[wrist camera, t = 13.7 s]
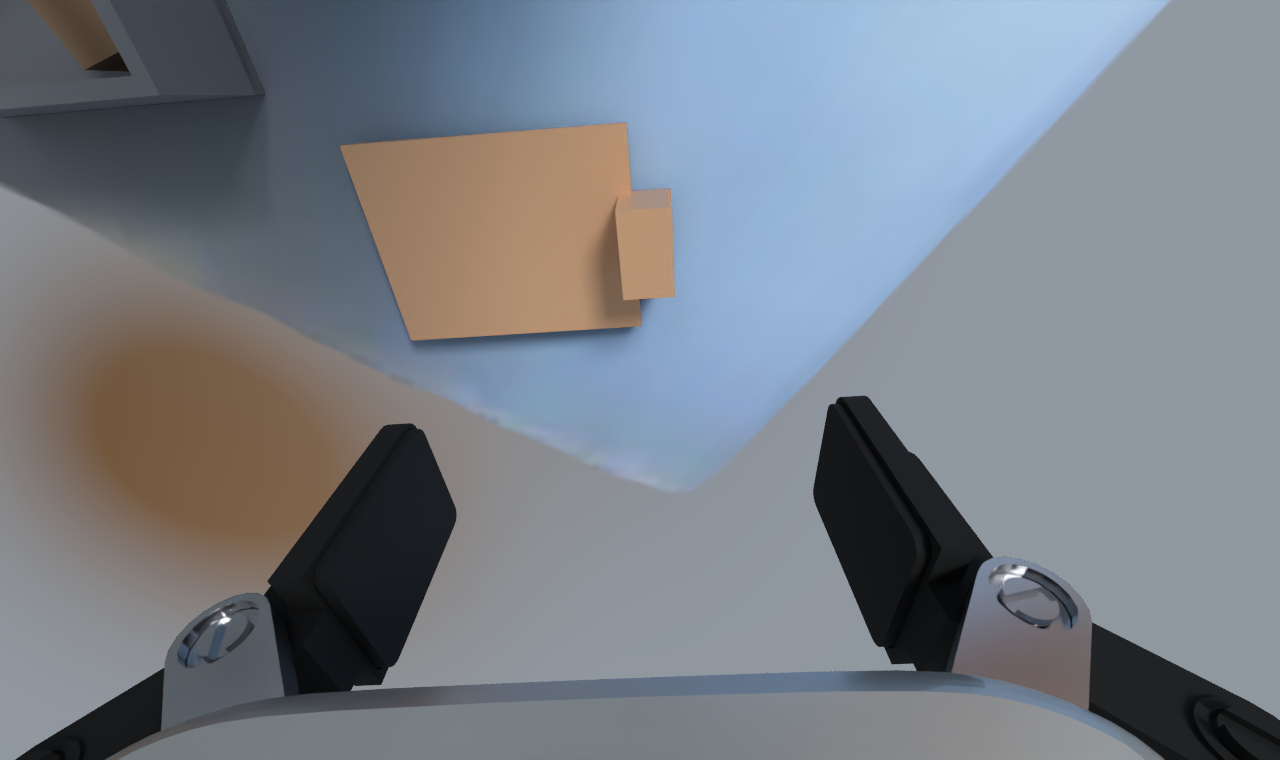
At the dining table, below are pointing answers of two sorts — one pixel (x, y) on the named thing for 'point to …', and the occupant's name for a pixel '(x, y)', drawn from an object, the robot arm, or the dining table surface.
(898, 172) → the dining table surface
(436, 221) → the lid
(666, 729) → the robot arm
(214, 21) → the grey tray
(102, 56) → the walnut block
